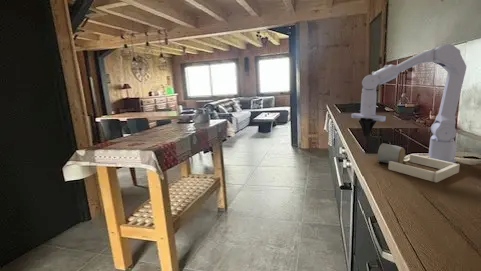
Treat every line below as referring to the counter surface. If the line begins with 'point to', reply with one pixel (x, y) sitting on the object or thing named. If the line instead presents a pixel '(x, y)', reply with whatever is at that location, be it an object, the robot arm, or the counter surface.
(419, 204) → the counter surface
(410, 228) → the counter surface
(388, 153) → the ceramic mug
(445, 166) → the frame
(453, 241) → the counter surface
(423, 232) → the counter surface
